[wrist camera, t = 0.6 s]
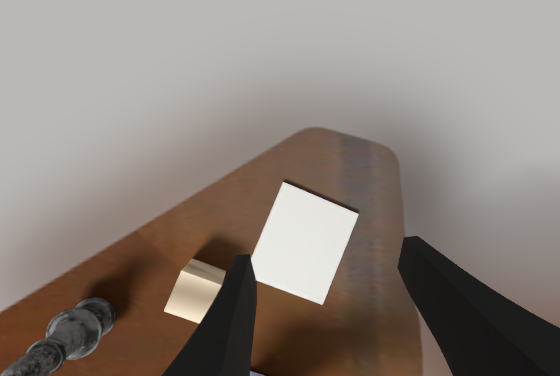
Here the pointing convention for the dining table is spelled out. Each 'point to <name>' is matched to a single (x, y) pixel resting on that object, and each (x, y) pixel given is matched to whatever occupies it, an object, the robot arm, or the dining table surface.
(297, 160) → the dining table surface
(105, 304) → the grey stone chess piece
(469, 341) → the robot arm
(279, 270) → the white mat
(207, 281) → the birch block
